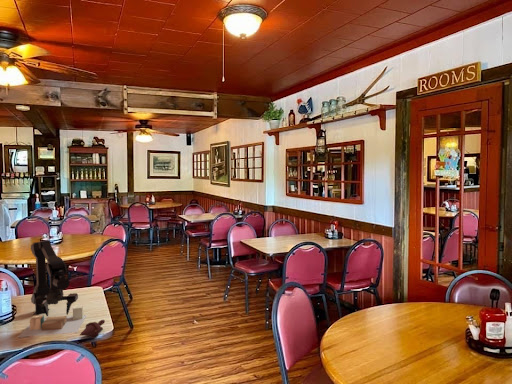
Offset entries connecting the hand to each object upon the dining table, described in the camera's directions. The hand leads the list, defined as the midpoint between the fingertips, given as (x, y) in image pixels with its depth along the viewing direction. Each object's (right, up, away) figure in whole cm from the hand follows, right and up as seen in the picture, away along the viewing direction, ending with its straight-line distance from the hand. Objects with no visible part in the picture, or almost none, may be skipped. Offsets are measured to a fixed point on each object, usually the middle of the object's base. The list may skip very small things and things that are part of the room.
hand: (57, 315), depth 193 cm
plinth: (-1, -6, 0) cm, 6 cm away
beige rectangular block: (+6, -5, +11) cm, 13 cm away
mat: (-2, -6, +1) cm, 6 cm away
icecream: (+22, -7, -10) cm, 25 cm away
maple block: (-7, -3, -1) cm, 7 cm away
